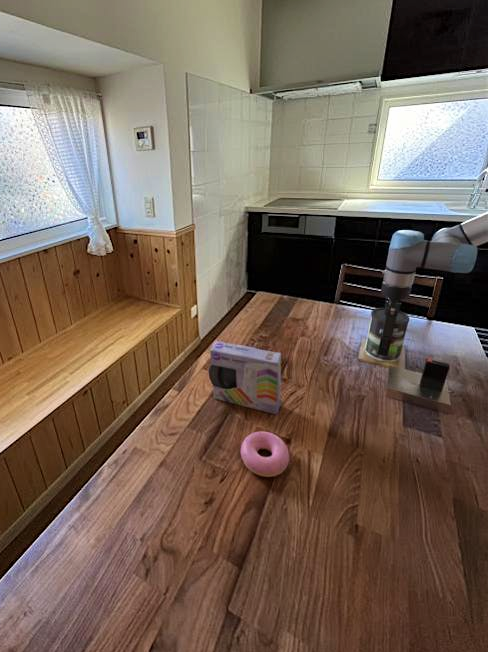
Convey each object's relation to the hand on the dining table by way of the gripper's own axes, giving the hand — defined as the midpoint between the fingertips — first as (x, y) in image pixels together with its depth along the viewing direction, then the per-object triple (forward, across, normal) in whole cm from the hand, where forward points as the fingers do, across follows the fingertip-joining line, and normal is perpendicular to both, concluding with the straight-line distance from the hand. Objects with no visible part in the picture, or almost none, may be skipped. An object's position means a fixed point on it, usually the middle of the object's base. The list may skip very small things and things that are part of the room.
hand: (383, 345), depth 109 cm
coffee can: (+3, 0, 0) cm, 3 cm away
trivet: (+4, 0, 0) cm, 4 cm away
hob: (+4, +15, +9) cm, 18 cm away
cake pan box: (+4, +40, -32) cm, 51 cm away
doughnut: (+4, +55, -21) cm, 59 cm away
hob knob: (0, +15, +12) cm, 19 cm away
